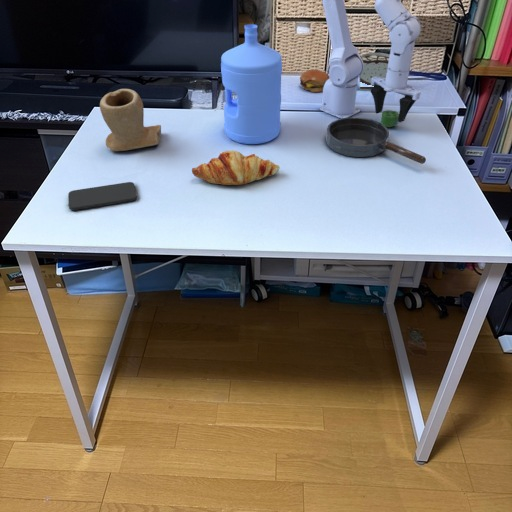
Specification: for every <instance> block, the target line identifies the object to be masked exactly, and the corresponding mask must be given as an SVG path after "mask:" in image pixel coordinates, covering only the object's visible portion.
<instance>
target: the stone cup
mask: <svg viewBox="0 0 512 512" xmlns="http://www.w3.org/2000/svg"><path fill="white" fill-rule="evenodd" d="M99 109H100V113H101V116H102V119H103V121H104V123H105V125H106V126H107V127H108V129H109V130H110V131H111V133H109V134H108V135H107V137H106V139H105V146H106V148H107V149H108V150H110V151H112V152H125V151H131V150H137V149H141V148H142V149H143V148H148V147H153V146H157V145H158V144H159V143H160V139H161V136H162V125H161V124H156V125H150V126H145V125H144V123H145V122H144V117H145V115H144V114H145V113H144V112H145V110H144V103H143V100H142V97H140V95H139V94H138V92H136V91H135V90H133V89H130V88H120V89H117V90H114V91H110V92H108V93H106V94H105V95H104V96H103V97H102V98H101V99H100V102H99Z"/></svg>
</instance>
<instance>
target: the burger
mask: <svg viewBox="0 0 512 512" xmlns="http://www.w3.org/2000/svg"><path fill="white" fill-rule="evenodd" d="M328 79H329V73H326V72H325V71H323V70H320V69H308V70H306V71H304V72H302V73H301V75H300V76H299V80H300V81H299V82H300V83H299V85H301V87H302V89H304V90H305V91H309V92H311V93H323V87H324V85H325V83H326V81H327V80H328Z"/></svg>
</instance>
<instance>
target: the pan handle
mask: <svg viewBox="0 0 512 512" xmlns="http://www.w3.org/2000/svg"><path fill="white" fill-rule="evenodd" d="M380 149H382V150H384V151H386V150H388V151H390V152H392V153H395V154H397V155H400V156H402V157H404V158H407V159H409V160H411V161H414V162H416V163H418V164H421V165H422V164H425V163H426V162H427V158H426V157H425V156H423V155H421V154H419V153H417V152H414V151H412V150H409V149H407V148H404V147H402V146H400V145H397V144H395V143H393V142H390V141H388V142H386V141H385V142H383V143H381V145H380Z"/></svg>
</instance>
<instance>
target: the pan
mask: <svg viewBox="0 0 512 512" xmlns="http://www.w3.org/2000/svg"><path fill="white" fill-rule="evenodd" d="M389 137H390V131H389V129H388V127H386V126H385V125H383V124H381V122H379V121H377V120H374V119H370V118H365V117H355V116H353V117H352V116H350V117H348V118H342V119H341V118H339V119H336V120H333V121H332V122H330V123H329V124H328V126H327V127H326V135H325V141H326V142H325V143H326V145H327V146H328V147H329V148H330V149H331V150H332V151H333V152H335V153H338V154H340V155H343V156H346V157H351V158H369V157H374V156H377V155H379V154H381V153H383V152H385V150H382V149H380V145H381V143H383V142H385V141H386V142H389Z"/></svg>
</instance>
